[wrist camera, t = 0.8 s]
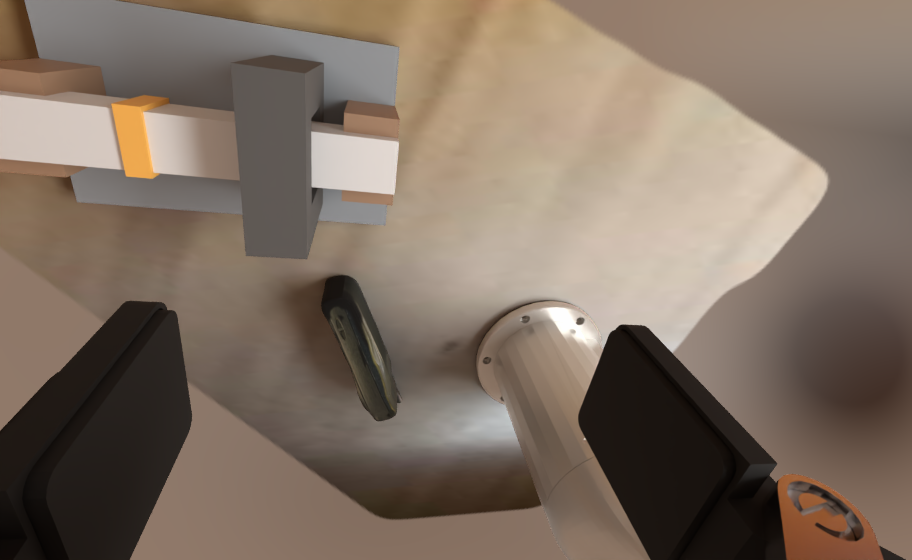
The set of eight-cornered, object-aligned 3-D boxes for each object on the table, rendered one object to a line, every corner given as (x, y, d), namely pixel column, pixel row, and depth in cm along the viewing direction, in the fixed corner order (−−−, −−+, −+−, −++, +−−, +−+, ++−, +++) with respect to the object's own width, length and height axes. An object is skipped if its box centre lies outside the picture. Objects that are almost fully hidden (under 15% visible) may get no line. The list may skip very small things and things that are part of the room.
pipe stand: (398, 46, 29) (407, 50, 22) (384, 218, 34) (388, 265, 27) (38, -13, 24) (-98, -33, 17) (89, 194, 30) (2, 244, 23)
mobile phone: (312, 308, 32) (379, 443, 39) (351, 296, 32) (411, 433, 39) (319, 277, 36) (379, 404, 44) (354, 266, 36) (408, 395, 44)
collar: (324, 62, 27) (305, 73, 19) (322, 203, 31) (307, 259, 23) (271, 54, 26) (230, 62, 18) (277, 199, 30) (246, 255, 23)
